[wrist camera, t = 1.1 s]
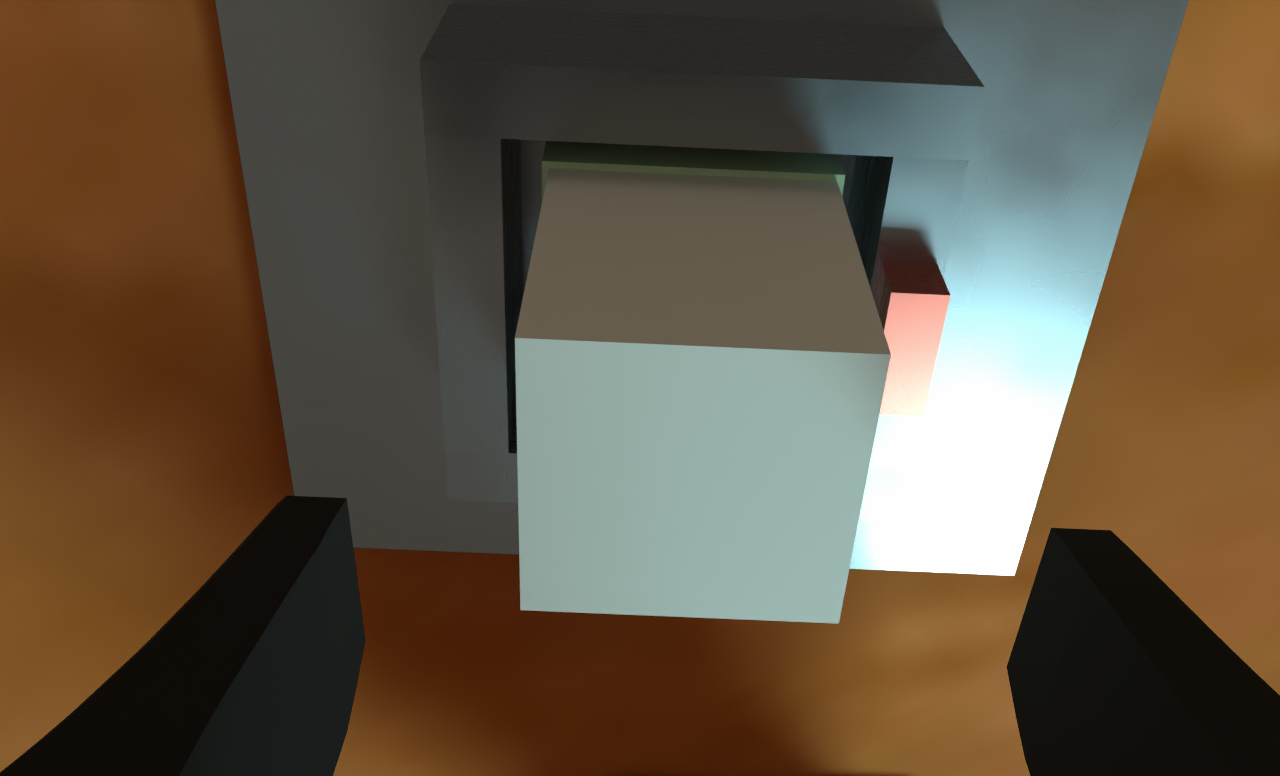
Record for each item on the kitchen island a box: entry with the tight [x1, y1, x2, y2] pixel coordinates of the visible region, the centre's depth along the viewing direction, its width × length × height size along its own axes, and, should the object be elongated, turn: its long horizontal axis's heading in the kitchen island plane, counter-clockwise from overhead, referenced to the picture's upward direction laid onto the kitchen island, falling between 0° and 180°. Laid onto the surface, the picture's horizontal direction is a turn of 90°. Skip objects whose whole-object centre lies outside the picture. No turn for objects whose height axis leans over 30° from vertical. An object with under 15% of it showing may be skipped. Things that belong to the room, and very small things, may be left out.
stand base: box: [215, 0, 1189, 576], centre depth 18 cm, size 14×14×4 cm
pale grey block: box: [515, 141, 891, 623], centre depth 16 cm, size 4×4×6 cm
